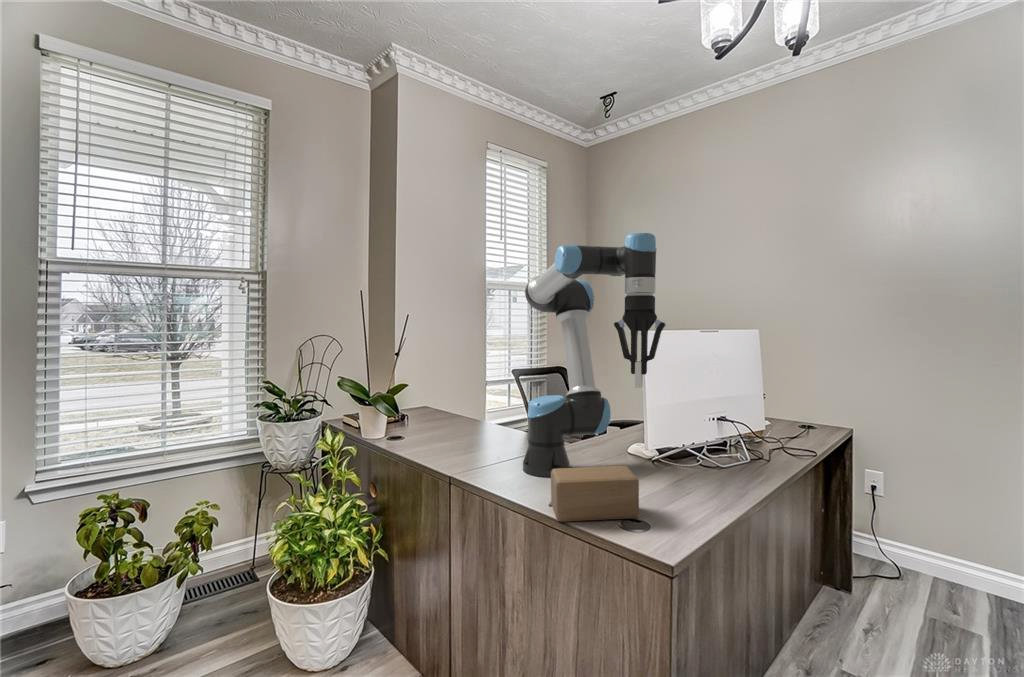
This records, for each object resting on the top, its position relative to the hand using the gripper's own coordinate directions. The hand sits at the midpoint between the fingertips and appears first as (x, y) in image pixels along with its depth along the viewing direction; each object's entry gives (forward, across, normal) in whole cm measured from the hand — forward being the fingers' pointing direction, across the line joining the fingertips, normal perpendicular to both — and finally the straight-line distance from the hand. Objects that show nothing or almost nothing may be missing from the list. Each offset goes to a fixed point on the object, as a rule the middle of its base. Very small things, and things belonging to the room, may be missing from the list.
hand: (638, 386), depth 123 cm
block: (+25, 0, -6) cm, 26 cm away
